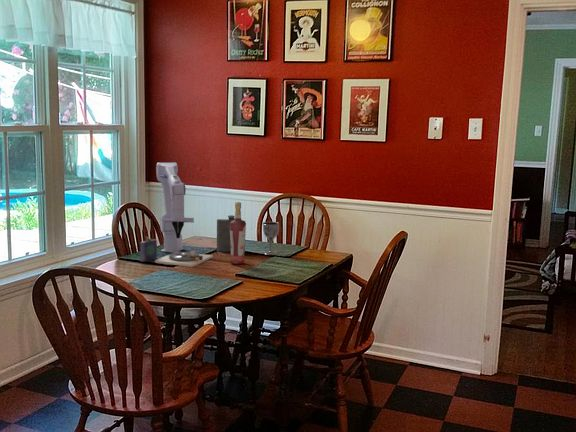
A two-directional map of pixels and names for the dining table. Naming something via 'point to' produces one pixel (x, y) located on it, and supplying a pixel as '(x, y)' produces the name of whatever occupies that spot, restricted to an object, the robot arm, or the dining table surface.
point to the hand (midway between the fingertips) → (178, 237)
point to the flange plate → (185, 256)
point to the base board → (183, 263)
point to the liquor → (237, 237)
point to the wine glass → (270, 234)
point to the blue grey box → (148, 249)
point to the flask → (224, 234)
